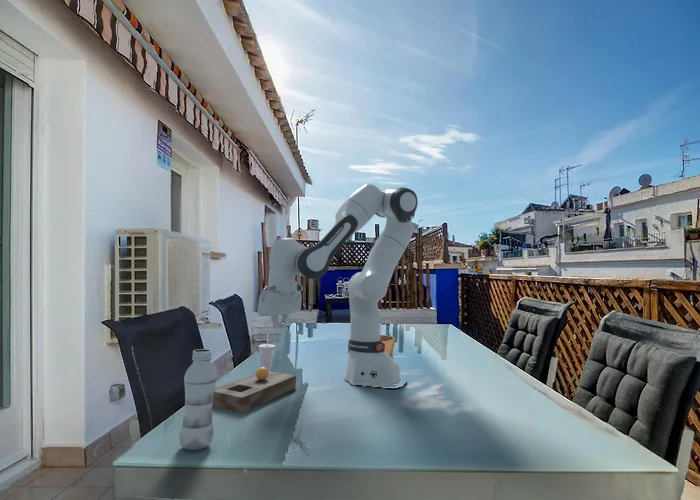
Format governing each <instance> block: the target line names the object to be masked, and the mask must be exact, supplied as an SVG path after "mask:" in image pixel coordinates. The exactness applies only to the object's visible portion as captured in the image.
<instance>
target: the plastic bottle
mask: <svg viewBox="0 0 700 500" xmlns="http://www.w3.org/2000/svg"><path fill="white" fill-rule="evenodd" d="M212 359H213V357H212V349H207V348H199V349H194V350H193V351H192V357H191V361H192V363H191V364H190V366H189V367H188V368H187V369H186V370H185V371H186V372H185V374H184V376H183V379H184V381H183V384H184V399H185V400H184V402H185V403H184V413H183V418H182V425H181V428H180V431H179V435H178V436H179V437H178V438H179V444H180V446H181V447H182V449H183V450H186V451H199V450H203V449H205V448H207V447H208V446H210V444H211V442H212V441H213V438H214V432H215V431H214V424H213V406H212V404H213V402H212V401H213V396H214V390H215V388H216V384H217V379H218V373H217V369H216V368H215V366H214V365H213V364H212V362H211V361H212Z"/></svg>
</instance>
